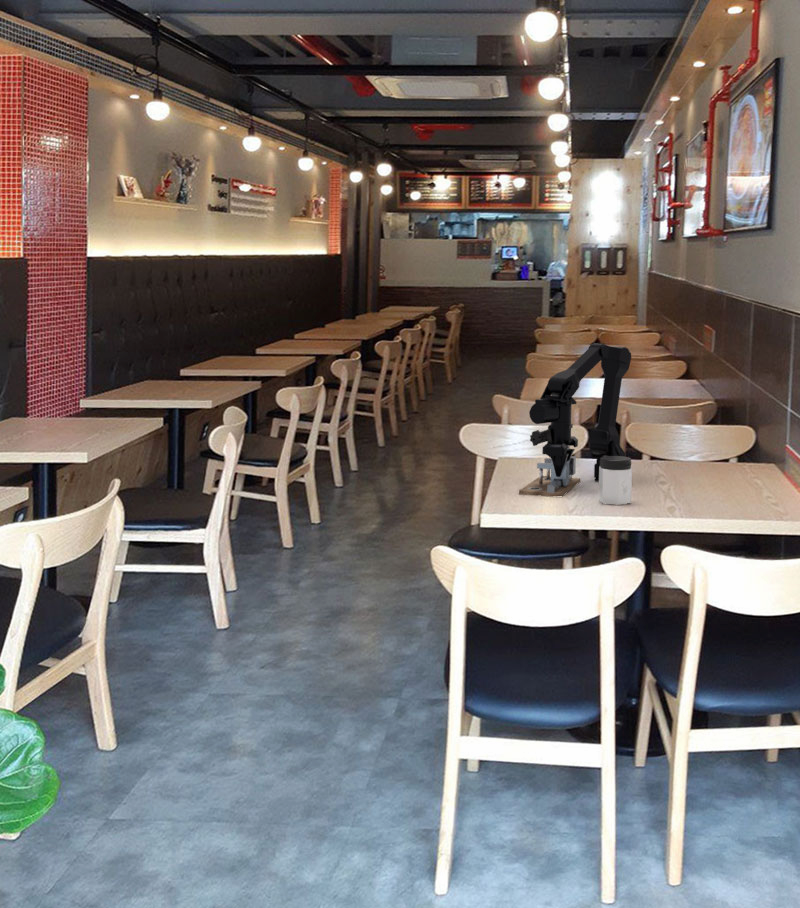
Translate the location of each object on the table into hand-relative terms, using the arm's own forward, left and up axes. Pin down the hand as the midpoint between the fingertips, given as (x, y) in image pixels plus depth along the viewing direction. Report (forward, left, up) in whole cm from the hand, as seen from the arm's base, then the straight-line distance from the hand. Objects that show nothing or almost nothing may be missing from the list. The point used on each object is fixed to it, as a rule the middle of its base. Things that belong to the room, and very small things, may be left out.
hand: (559, 475), depth 330 cm
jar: (-18, +13, -4) cm, 23 cm away
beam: (+2, 0, -3) cm, 4 cm away
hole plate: (+3, -1, -4) cm, 5 cm away
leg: (+2, 0, -3) cm, 3 cm away
